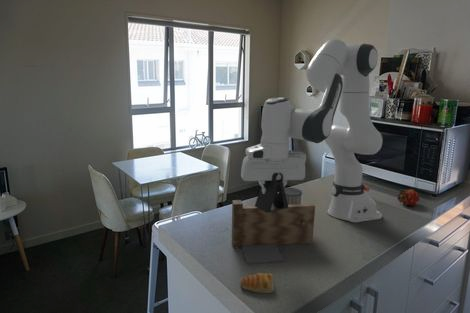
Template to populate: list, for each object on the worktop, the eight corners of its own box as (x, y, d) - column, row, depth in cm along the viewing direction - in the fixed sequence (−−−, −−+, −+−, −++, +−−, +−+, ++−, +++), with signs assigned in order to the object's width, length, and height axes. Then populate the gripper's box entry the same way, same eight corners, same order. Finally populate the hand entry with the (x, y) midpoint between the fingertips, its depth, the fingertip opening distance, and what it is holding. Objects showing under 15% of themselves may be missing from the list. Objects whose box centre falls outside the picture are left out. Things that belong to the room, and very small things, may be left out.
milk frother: (301, 223, 139) (303, 188, 135) (296, 240, 124) (298, 201, 121) (267, 218, 143) (268, 184, 139) (258, 234, 128) (259, 197, 125)
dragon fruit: (399, 210, 159) (409, 208, 167) (417, 204, 153) (426, 202, 161) (391, 193, 161) (401, 192, 169) (408, 186, 156) (418, 185, 164)
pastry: (240, 294, 92) (241, 281, 92) (239, 280, 99) (240, 268, 98) (275, 294, 93) (275, 281, 92) (271, 280, 99) (272, 268, 99)
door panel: (309, 238, 125) (312, 197, 122) (314, 245, 120) (317, 202, 117) (231, 242, 121) (232, 200, 117) (233, 249, 116) (234, 205, 113)
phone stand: (265, 212, 104) (267, 175, 102) (254, 206, 109) (256, 170, 107) (288, 208, 109) (290, 171, 106) (276, 202, 114) (278, 167, 111)
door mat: (275, 245, 120) (275, 244, 120) (284, 261, 109) (284, 260, 109) (241, 247, 118) (241, 245, 118) (247, 263, 107) (247, 262, 107)
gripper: (303, 148, 110) (300, 189, 113) (240, 148, 106) (239, 190, 109) (310, 152, 104) (306, 195, 107) (244, 153, 100) (242, 197, 103)
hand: (272, 193), depth 108 cm, fingers closed on phone stand, 4 cm apart
